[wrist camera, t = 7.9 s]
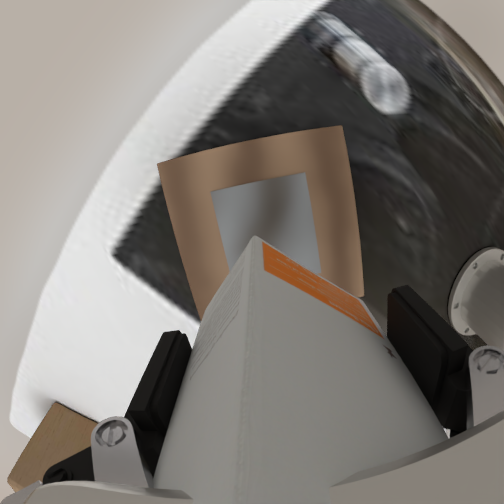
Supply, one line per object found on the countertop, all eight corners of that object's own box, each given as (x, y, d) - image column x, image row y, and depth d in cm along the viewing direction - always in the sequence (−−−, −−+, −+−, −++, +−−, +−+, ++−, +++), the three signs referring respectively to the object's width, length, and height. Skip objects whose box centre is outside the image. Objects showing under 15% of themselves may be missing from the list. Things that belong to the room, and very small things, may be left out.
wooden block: (58, 427, 40) (19, 499, 21) (54, 398, 37) (3, 479, 18) (103, 449, 41) (72, 529, 22) (104, 424, 38) (63, 516, 19)
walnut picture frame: (332, 128, 26) (342, 125, 22) (355, 283, 30) (364, 296, 27) (166, 163, 27) (156, 163, 24) (207, 312, 31) (203, 328, 28)
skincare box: (364, 297, 13) (505, 539, 1) (310, 362, 14) (358, 601, 3) (251, 227, 12) (230, 631, 1) (201, 307, 13) (116, 595, 2)
